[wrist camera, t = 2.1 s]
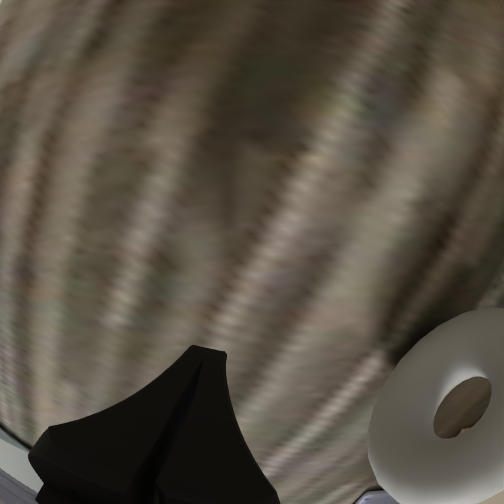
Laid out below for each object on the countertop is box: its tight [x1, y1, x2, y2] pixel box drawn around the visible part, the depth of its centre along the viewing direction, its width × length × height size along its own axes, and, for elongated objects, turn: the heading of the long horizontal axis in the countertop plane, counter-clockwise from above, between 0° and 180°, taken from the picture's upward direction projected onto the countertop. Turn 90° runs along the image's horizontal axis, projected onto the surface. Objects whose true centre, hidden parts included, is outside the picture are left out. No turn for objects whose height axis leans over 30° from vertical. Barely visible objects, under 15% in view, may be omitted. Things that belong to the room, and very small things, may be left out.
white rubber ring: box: [368, 307, 504, 504], centre depth 10 cm, size 10×4×10 cm, turn 139°
